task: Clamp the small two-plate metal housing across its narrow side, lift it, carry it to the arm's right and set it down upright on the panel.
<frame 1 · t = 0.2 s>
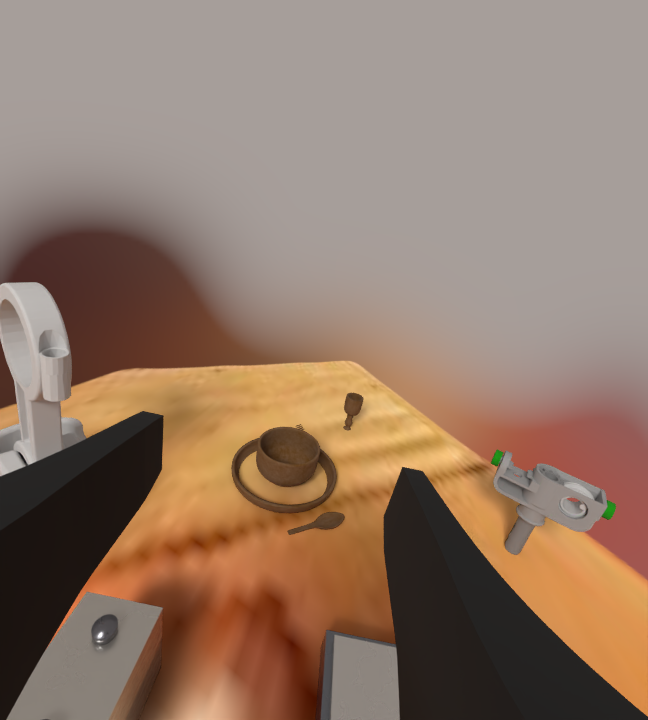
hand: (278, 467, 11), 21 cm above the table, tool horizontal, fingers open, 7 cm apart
mechanical component: (511, 549, 38), on the table
engine component: (52, 515, 32), on the table
place setting: (313, 472, 44), on the table
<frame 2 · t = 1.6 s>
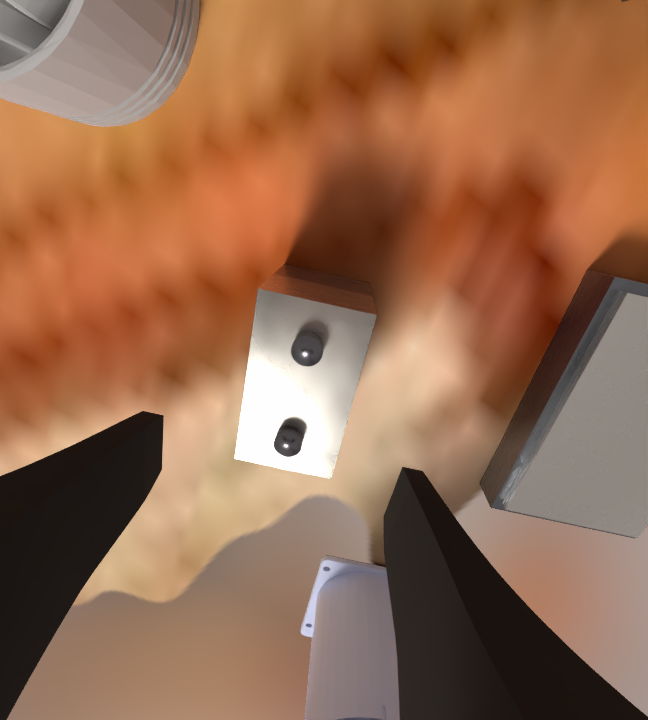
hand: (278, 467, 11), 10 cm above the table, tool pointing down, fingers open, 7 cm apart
housing: (312, 342, 20), on the table
panel: (602, 408, 21), on the table
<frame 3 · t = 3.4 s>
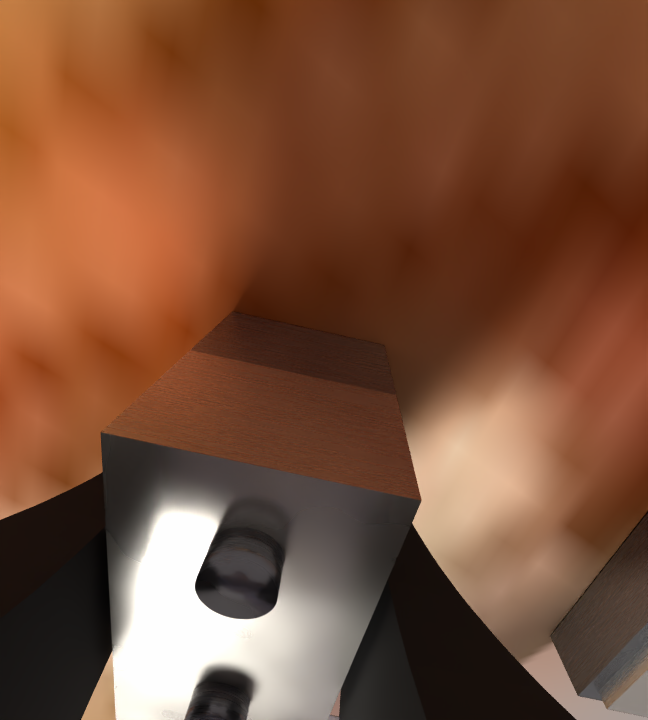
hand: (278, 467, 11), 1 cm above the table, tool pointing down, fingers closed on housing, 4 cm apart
housing: (286, 439, 12), on the table, touching gripper
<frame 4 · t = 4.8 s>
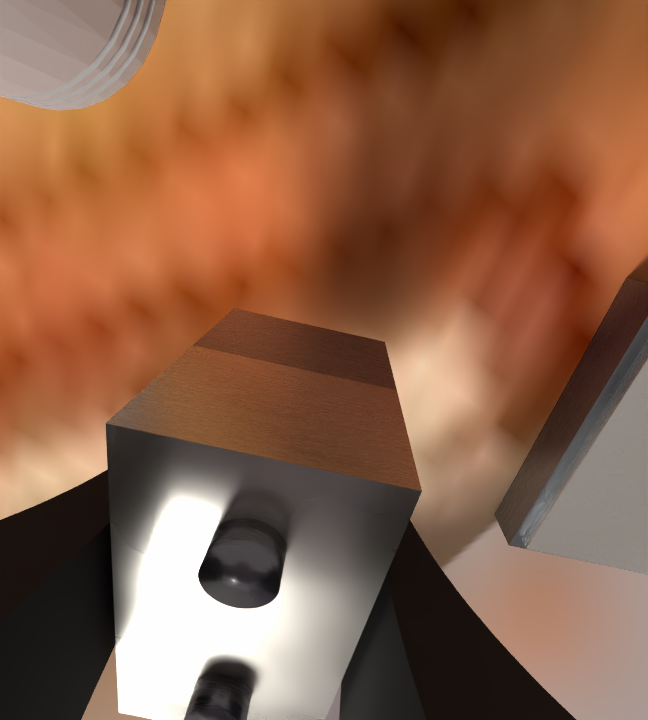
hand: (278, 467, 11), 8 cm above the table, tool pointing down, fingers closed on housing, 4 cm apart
housing: (287, 435, 12), point 6 cm above the table, touching gripper
panel: (636, 434, 18), on the table
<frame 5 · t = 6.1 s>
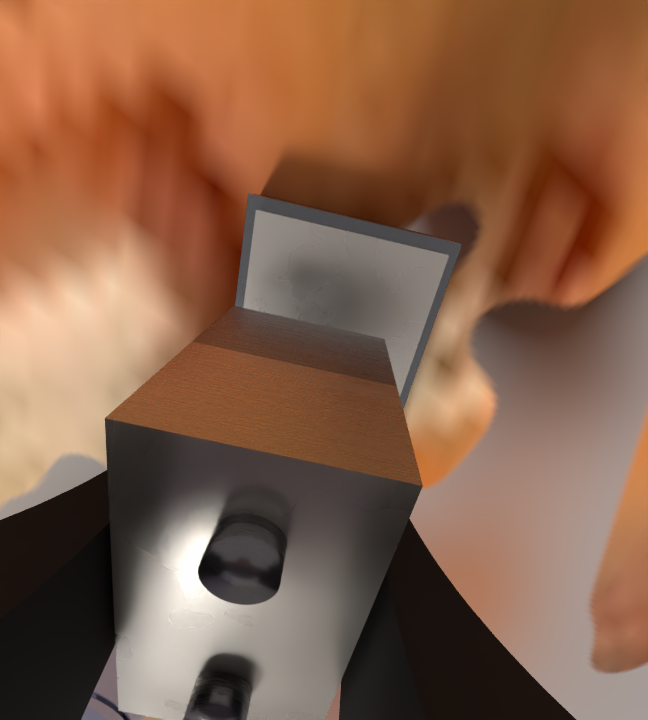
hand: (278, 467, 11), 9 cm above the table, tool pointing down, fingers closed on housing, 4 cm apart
housing: (286, 433, 12), point 8 cm above the table, touching gripper
panel: (323, 353, 19), on the table
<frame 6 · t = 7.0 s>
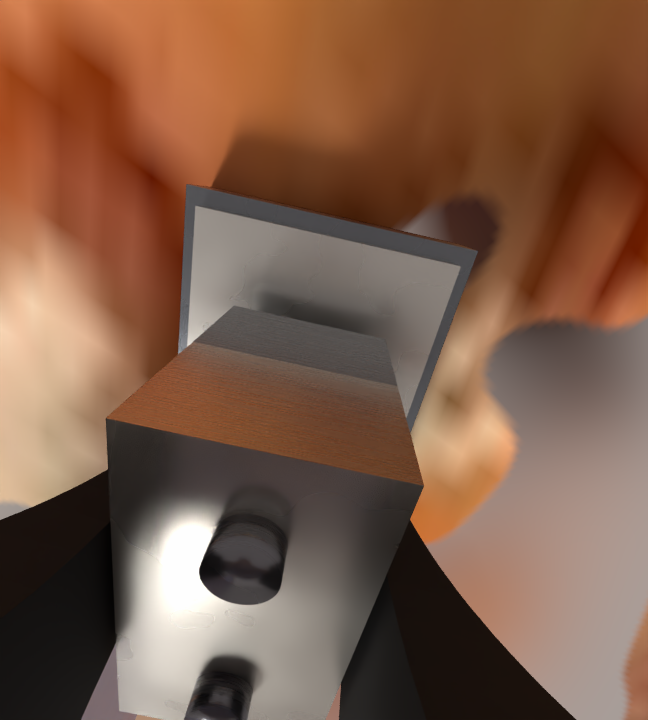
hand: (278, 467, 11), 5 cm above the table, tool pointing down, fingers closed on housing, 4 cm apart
housing: (287, 433, 12), point 4 cm above the table, touching gripper
panel: (300, 387, 15), on the table
when the fingers open (5 cm above the table, at t = 7.9 s): housing stays where it is, resting on panel.
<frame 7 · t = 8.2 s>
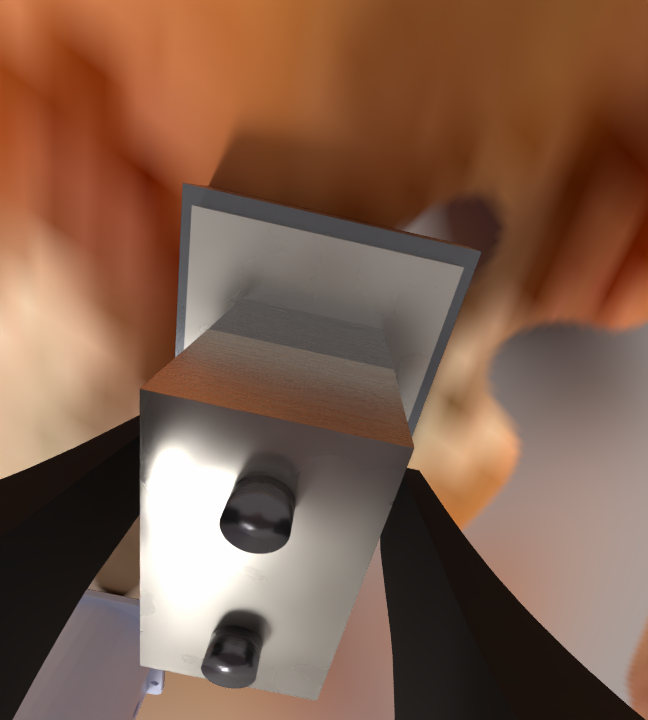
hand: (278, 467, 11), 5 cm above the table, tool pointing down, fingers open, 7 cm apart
housing: (291, 419, 13), point 2 cm above the table, touching panel
panel: (299, 389, 15), on the table
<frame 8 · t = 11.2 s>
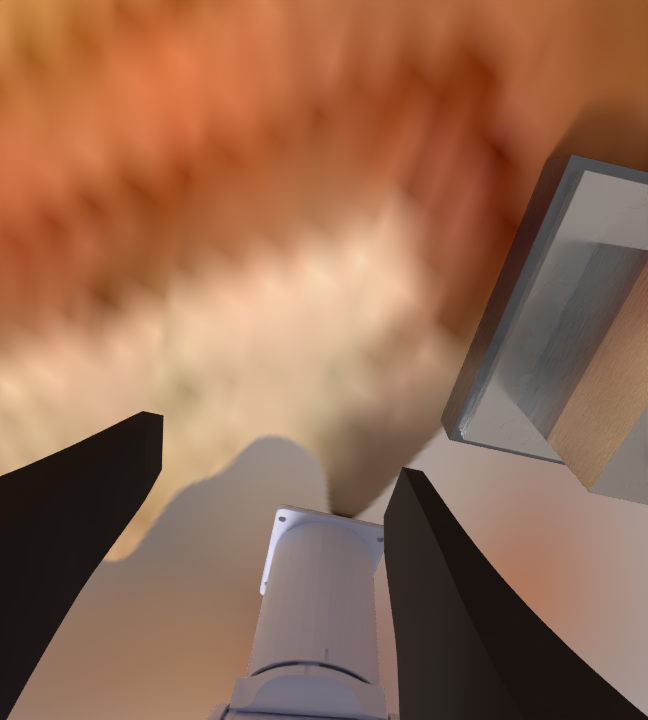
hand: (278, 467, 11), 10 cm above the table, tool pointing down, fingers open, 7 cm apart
housing: (600, 342, 17), point 2 cm above the table, touching panel
panel: (568, 328, 19), on the table
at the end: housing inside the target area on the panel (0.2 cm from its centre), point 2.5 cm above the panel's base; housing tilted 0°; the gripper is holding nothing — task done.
